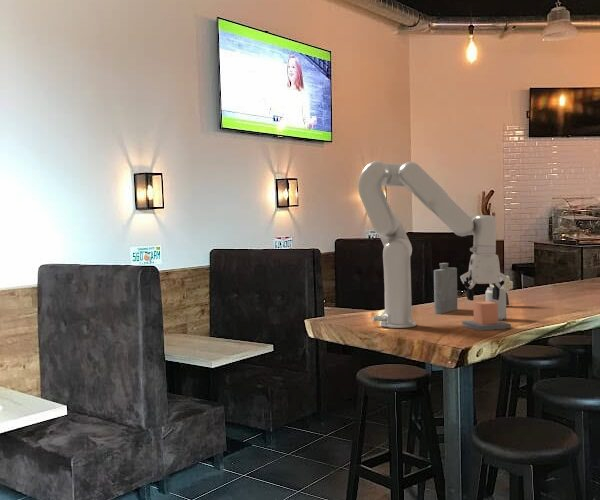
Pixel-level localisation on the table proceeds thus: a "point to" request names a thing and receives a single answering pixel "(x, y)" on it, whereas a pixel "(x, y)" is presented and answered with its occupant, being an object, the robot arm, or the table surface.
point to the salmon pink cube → (485, 312)
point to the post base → (486, 325)
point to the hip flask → (445, 289)
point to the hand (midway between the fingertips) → (483, 299)
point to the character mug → (506, 287)
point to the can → (498, 301)
